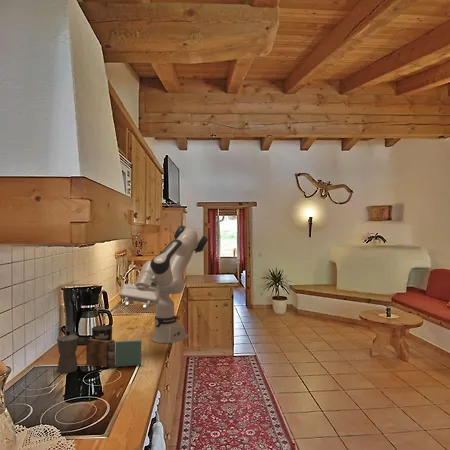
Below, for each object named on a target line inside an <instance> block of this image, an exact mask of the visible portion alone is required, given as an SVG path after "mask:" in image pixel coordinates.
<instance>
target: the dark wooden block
mask: <svg viewBox="0 0 450 450" xmlns="http://www.w3.org/2000/svg"><path fill="white" fill-rule="evenodd" d="M114 350H115V351H116V340H114V339H112V340H110V341H103V340H95V339H92V338H87V339H86V355H85V357H86V359H85V363H86V365H87V366H95V365H98V366H97V367H102V366H103V368H108V369H114V368H116V367H115V359H112V360H110V359H108V351H114Z"/></svg>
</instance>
